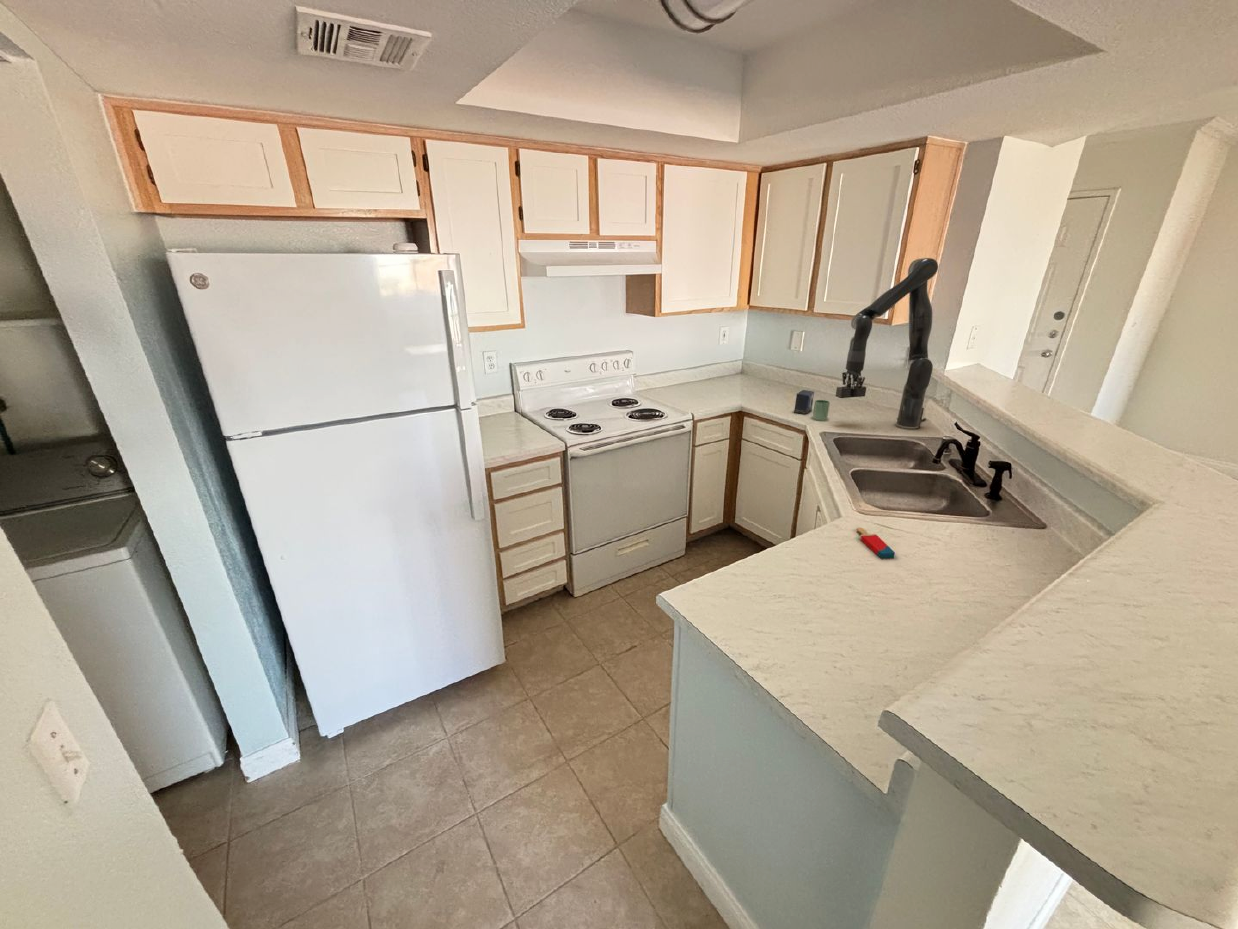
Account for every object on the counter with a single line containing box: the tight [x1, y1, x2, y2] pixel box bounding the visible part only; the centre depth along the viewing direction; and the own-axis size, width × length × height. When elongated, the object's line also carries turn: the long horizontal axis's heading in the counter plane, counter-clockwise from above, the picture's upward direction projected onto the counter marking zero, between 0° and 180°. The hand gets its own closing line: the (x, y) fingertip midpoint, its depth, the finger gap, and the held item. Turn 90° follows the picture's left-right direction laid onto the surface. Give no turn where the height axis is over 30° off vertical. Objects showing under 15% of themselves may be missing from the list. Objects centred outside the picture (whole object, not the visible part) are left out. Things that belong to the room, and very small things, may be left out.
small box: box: [793, 389, 815, 415], centre depth 264 cm, size 11×6×10 cm, turn 143°
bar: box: [835, 385, 867, 399], centre depth 237 cm, size 13×4×4 cm, turn 102°
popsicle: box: [856, 527, 896, 559], centre depth 141 cm, size 4×2×15 cm
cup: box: [812, 399, 831, 422], centre depth 251 cm, size 7×7×9 cm
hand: (850, 395), depth 238 cm, fingers closed on bar, 4 cm apart
